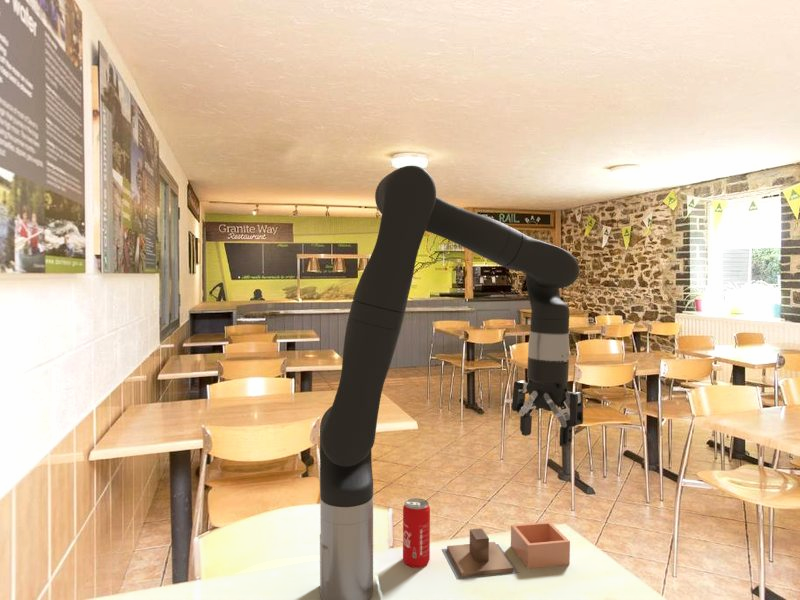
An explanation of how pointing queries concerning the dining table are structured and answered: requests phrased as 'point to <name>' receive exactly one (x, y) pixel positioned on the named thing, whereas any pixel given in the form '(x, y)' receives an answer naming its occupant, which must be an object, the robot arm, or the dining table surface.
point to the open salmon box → (540, 544)
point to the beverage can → (416, 532)
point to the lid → (479, 556)
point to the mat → (478, 575)
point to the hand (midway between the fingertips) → (544, 440)
